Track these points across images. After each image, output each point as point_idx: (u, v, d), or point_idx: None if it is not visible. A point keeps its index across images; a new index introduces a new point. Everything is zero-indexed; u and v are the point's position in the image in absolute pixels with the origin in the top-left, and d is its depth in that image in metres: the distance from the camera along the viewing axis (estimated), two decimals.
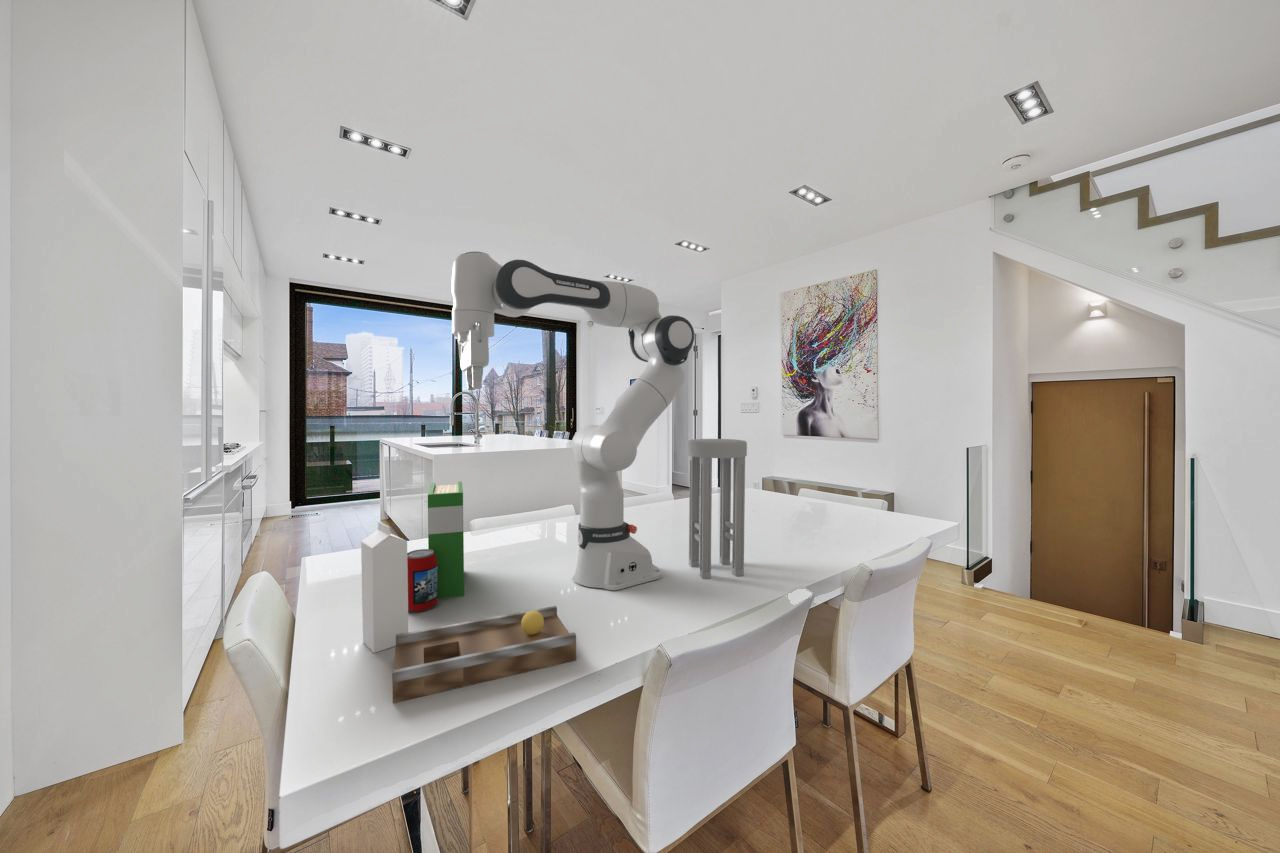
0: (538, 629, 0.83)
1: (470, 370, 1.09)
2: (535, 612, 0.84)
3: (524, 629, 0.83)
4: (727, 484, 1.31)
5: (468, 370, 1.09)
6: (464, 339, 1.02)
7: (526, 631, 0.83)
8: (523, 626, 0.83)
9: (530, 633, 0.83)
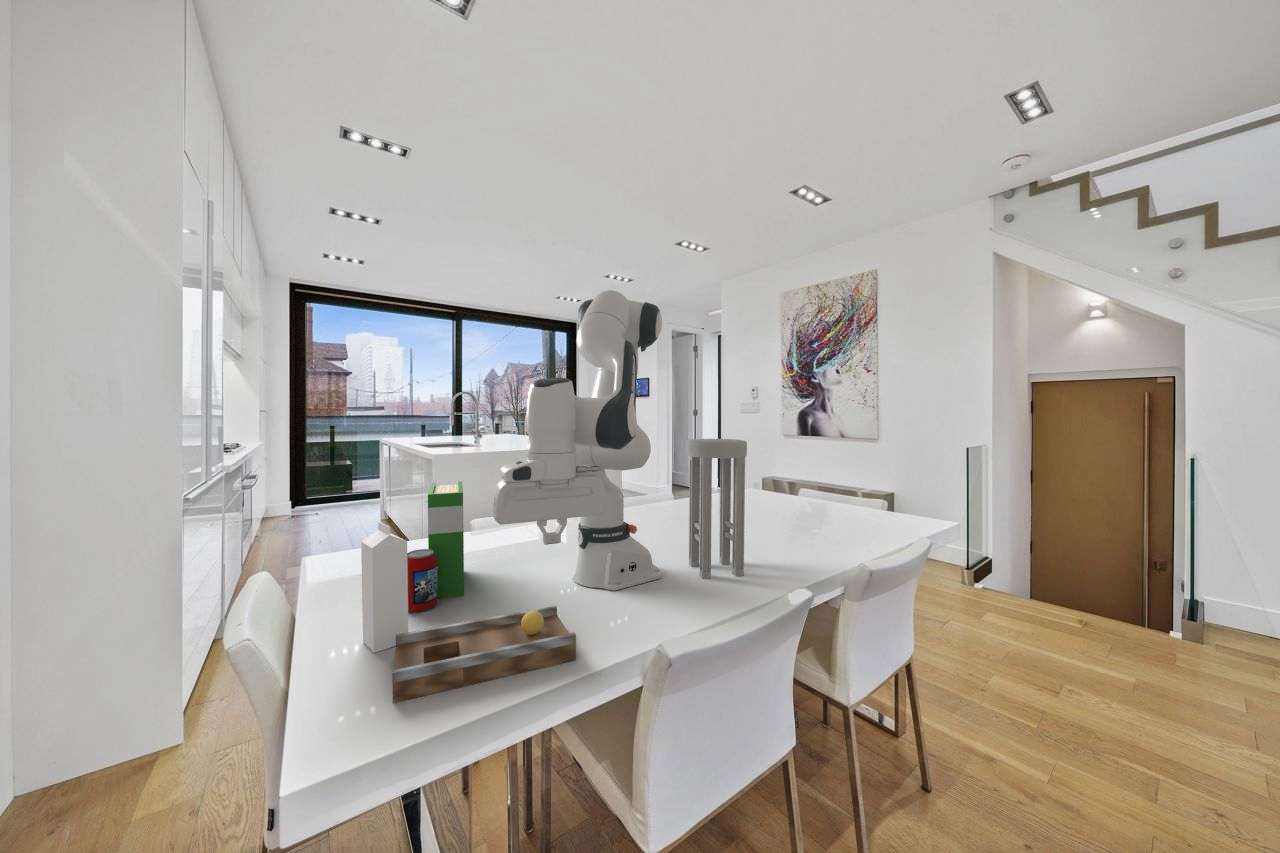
0: (538, 629, 0.83)
1: None
2: (535, 612, 0.84)
3: (524, 629, 0.83)
4: (727, 484, 1.31)
5: None
6: (566, 485, 0.84)
7: (526, 631, 0.83)
8: (523, 626, 0.83)
9: (530, 633, 0.83)
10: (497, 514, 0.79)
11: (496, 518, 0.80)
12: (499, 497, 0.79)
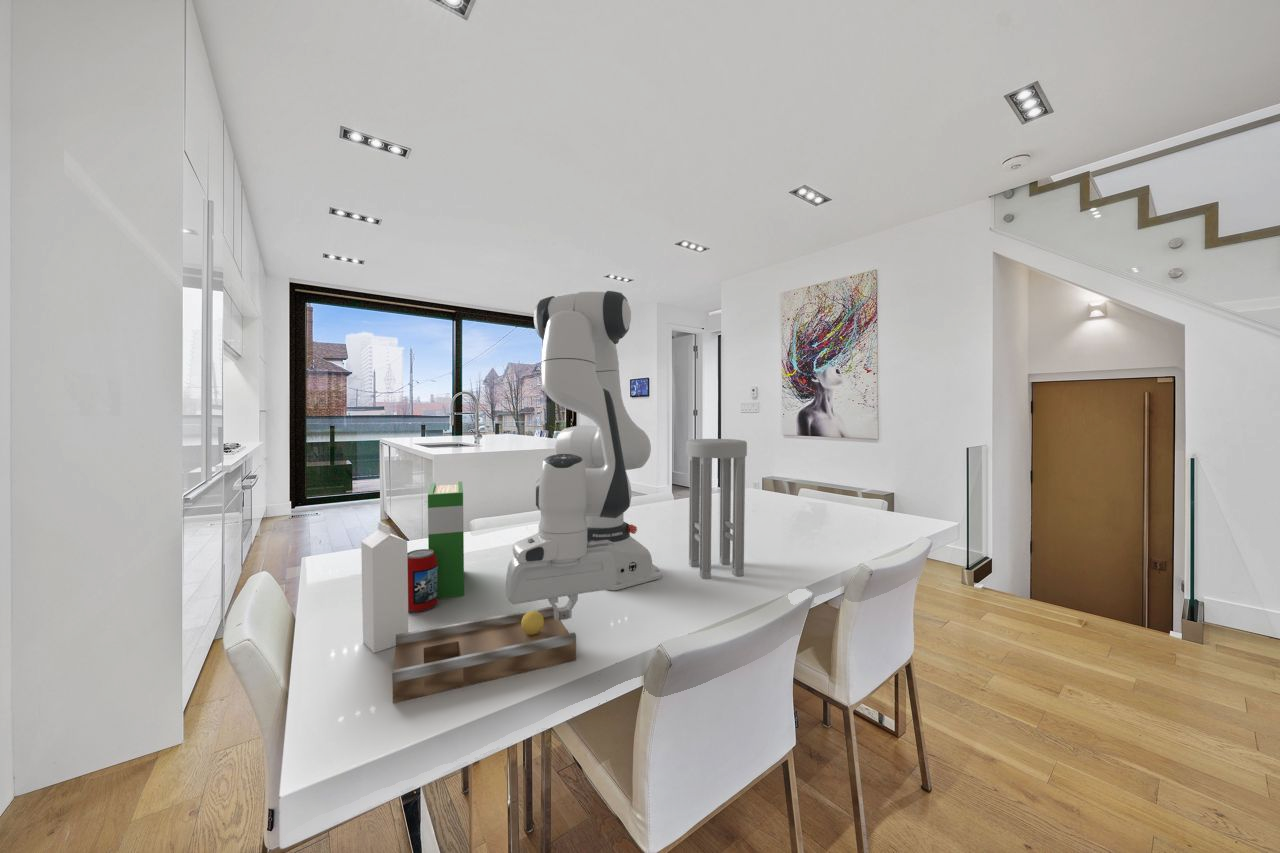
0: (538, 629, 0.83)
1: None
2: (535, 612, 0.84)
3: (524, 629, 0.83)
4: (727, 484, 1.31)
5: None
6: (578, 562, 0.85)
7: (526, 631, 0.83)
8: (523, 626, 0.83)
9: (530, 633, 0.83)
10: (510, 594, 0.80)
11: (509, 598, 0.81)
12: (512, 578, 0.80)
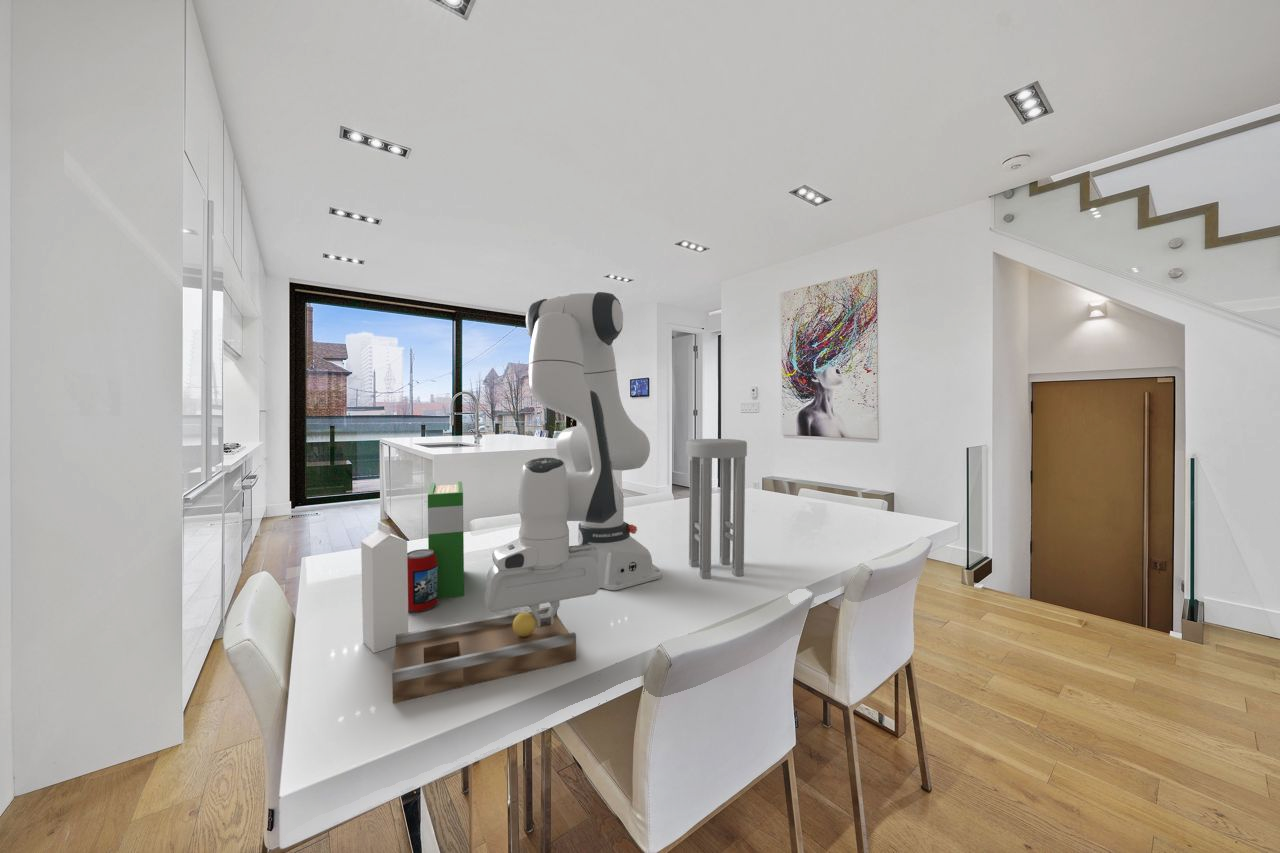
0: (531, 627, 0.82)
1: None
2: (519, 616, 0.83)
3: (520, 635, 0.82)
4: (727, 484, 1.31)
5: None
6: (559, 568, 0.84)
7: (523, 636, 0.82)
8: (517, 634, 0.82)
9: (527, 635, 0.82)
10: (489, 602, 0.79)
11: (488, 606, 0.79)
12: (491, 585, 0.79)
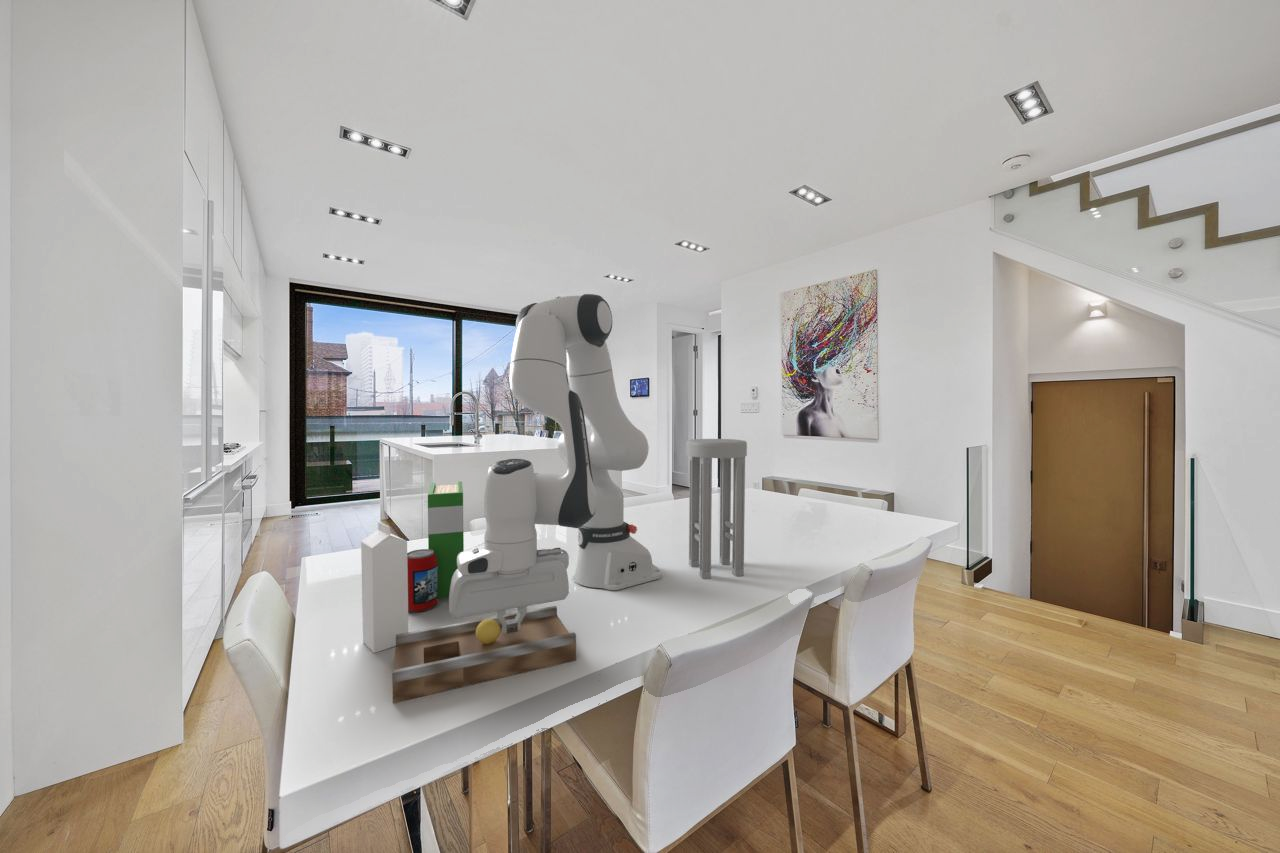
0: (484, 636, 0.79)
1: None
2: None
3: (494, 624, 0.80)
4: (727, 484, 1.31)
5: None
6: (526, 573, 0.81)
7: (492, 625, 0.80)
8: (497, 625, 0.81)
9: (487, 627, 0.79)
10: (452, 608, 0.76)
11: (451, 612, 0.76)
12: (454, 591, 0.76)
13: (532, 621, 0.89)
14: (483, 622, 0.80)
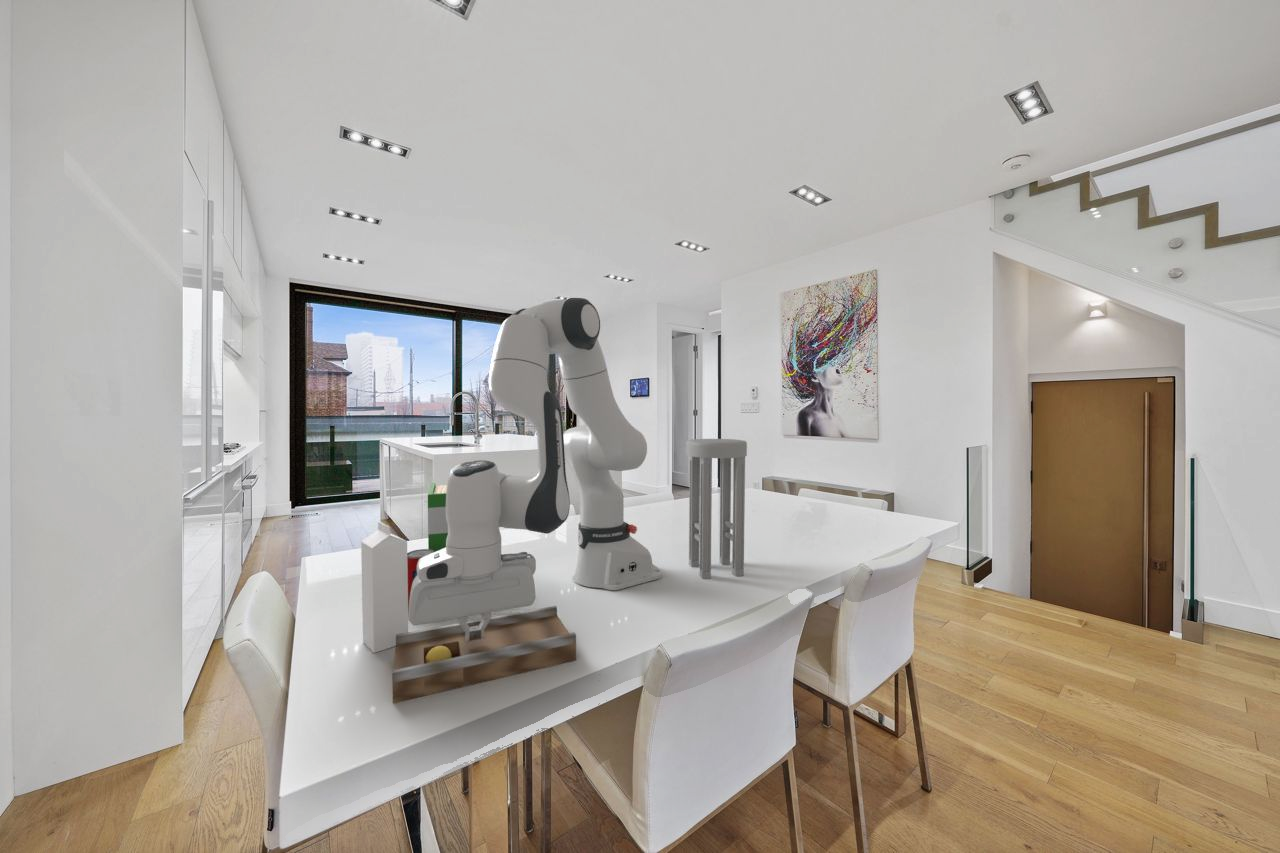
0: (440, 658, 0.76)
1: None
2: None
3: None
4: (727, 484, 1.31)
5: None
6: (489, 578, 0.79)
7: None
8: None
9: None
10: (410, 615, 0.74)
11: (409, 619, 0.74)
12: (412, 597, 0.74)
13: (532, 621, 0.89)
14: (450, 654, 0.78)
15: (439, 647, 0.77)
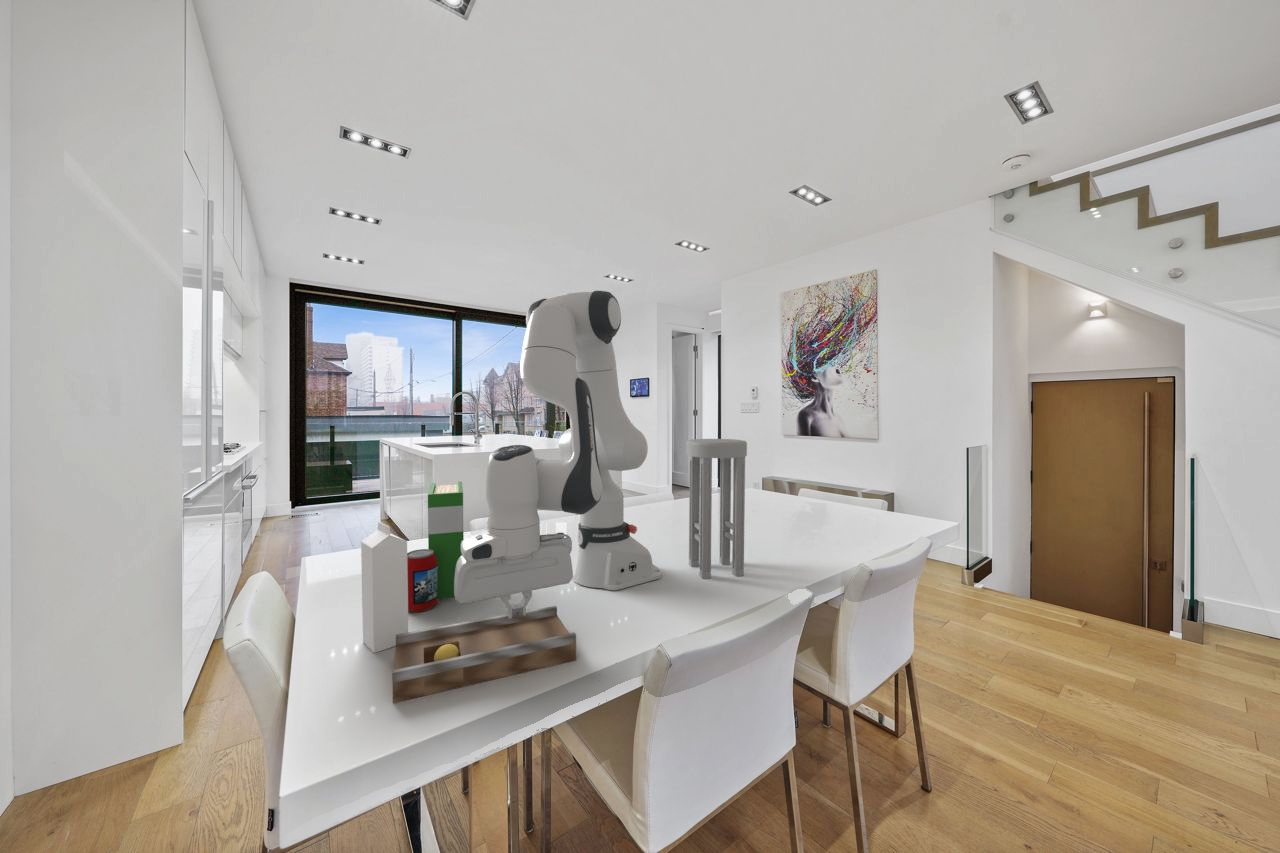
0: None
1: None
2: (435, 656, 0.77)
3: None
4: (727, 484, 1.31)
5: None
6: (530, 558, 0.82)
7: None
8: None
9: None
10: (457, 594, 0.77)
11: (456, 598, 0.77)
12: (459, 577, 0.76)
13: (532, 621, 0.89)
14: None
15: (455, 647, 0.78)
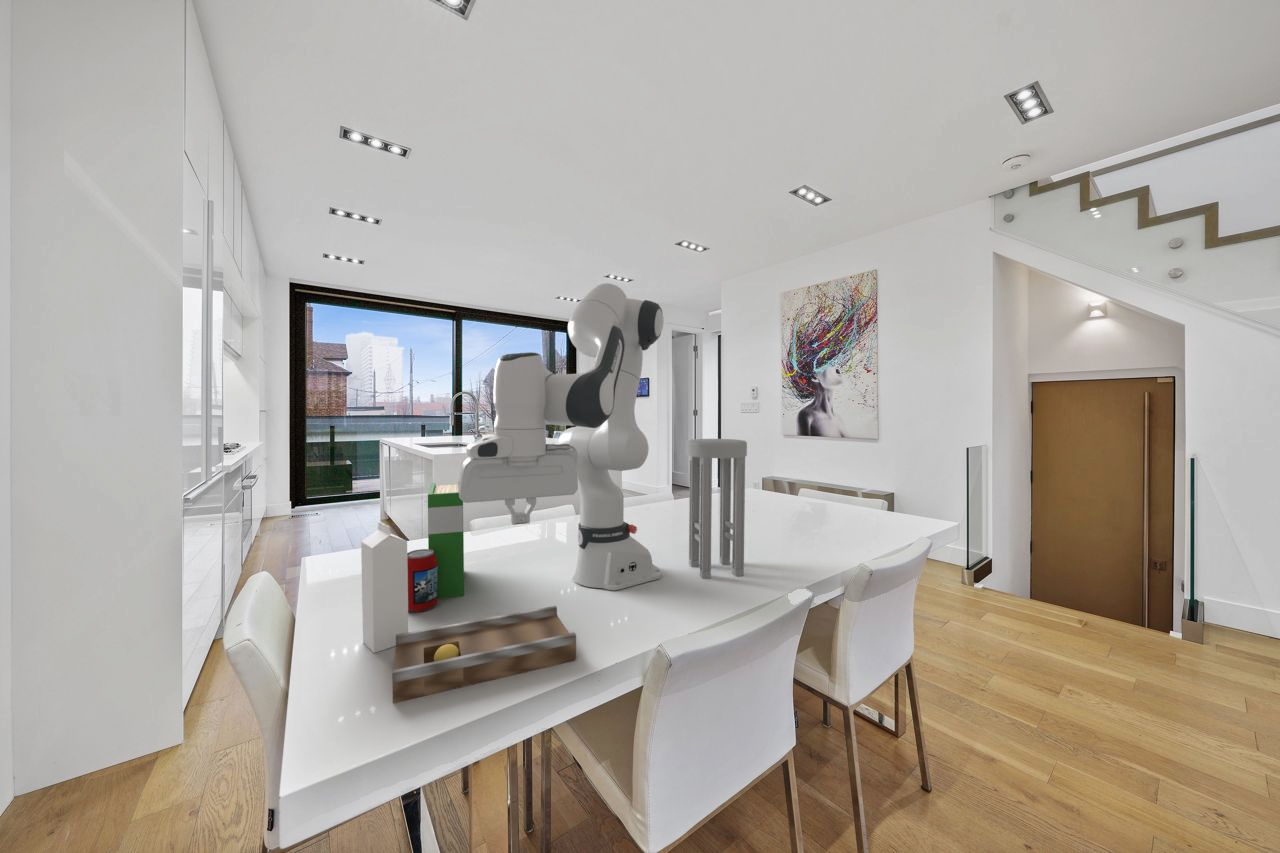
0: None
1: None
2: (434, 656, 0.77)
3: None
4: (727, 484, 1.31)
5: None
6: (535, 463, 0.81)
7: None
8: None
9: None
10: (462, 492, 0.76)
11: (461, 496, 0.77)
12: (464, 474, 0.76)
13: (532, 621, 0.89)
14: None
15: (455, 647, 0.78)
